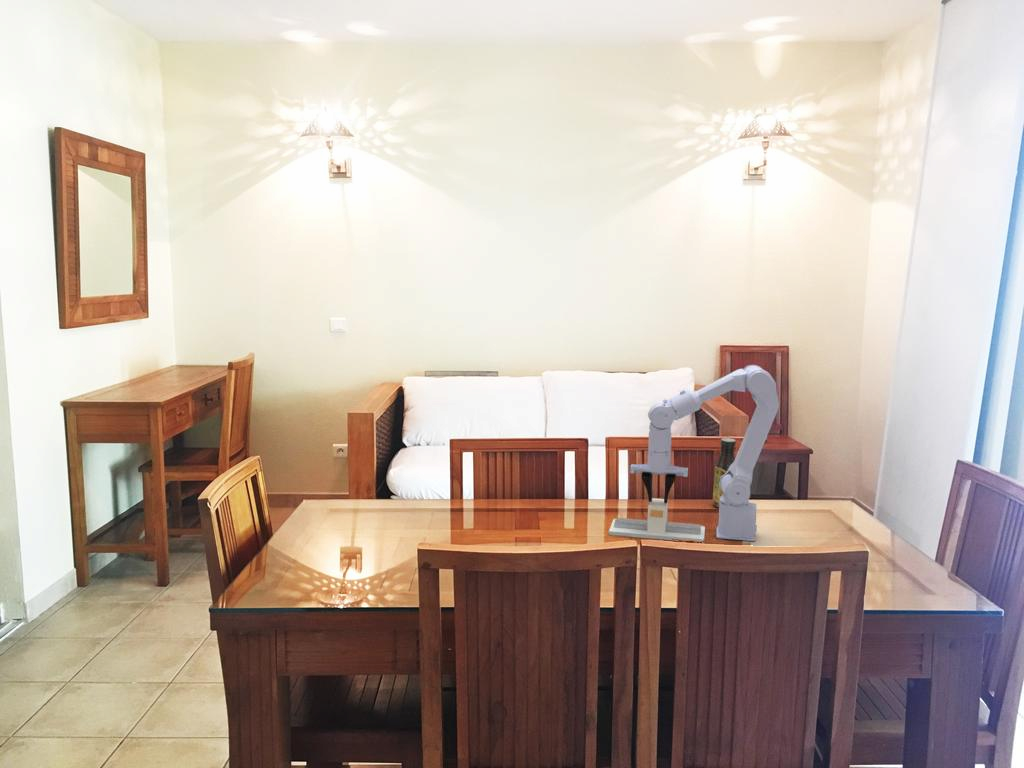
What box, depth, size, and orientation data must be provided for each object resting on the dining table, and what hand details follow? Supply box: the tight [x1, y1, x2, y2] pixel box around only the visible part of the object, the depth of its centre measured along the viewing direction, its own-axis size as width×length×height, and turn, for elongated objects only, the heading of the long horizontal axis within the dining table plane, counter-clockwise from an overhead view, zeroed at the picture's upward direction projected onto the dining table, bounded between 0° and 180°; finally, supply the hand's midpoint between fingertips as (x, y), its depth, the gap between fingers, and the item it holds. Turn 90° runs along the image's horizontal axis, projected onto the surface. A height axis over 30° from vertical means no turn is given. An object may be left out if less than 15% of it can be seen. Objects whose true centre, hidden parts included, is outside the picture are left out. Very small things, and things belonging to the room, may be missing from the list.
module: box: [647, 497, 669, 534], centre depth 207 cm, size 4×7×7 cm, turn 165°
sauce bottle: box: [712, 437, 737, 508], centre depth 227 cm, size 7×6×20 cm
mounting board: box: [608, 518, 706, 544], centre depth 207 cm, size 24×10×1 cm, turn 75°
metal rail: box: [614, 517, 702, 535], centre depth 207 cm, size 22×4×2 cm, turn 75°
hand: (658, 501), depth 206 cm, fingers open, 3 cm apart
